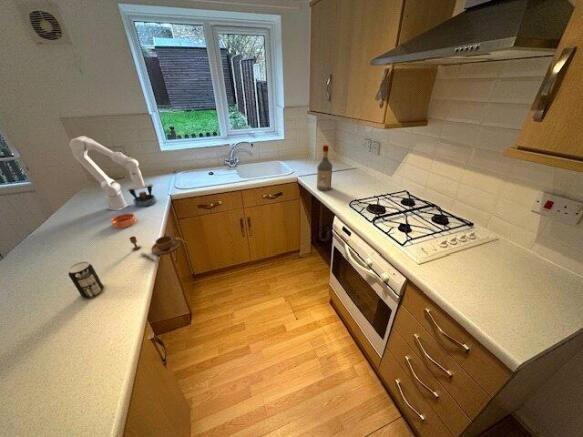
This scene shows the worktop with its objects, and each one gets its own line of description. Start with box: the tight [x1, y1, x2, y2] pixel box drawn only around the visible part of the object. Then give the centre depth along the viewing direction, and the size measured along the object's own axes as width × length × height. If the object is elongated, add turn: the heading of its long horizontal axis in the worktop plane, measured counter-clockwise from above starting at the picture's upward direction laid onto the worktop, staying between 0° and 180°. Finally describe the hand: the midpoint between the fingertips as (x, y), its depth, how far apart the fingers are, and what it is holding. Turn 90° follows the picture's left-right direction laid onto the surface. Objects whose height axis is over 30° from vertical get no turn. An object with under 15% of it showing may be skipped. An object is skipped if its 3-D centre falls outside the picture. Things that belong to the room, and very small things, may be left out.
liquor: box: [316, 144, 333, 192], centre depth 163 cm, size 9×9×30 cm
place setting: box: [129, 235, 188, 262], centre depth 111 cm, size 18×20×6 cm
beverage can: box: [67, 261, 104, 299], centre depth 85 cm, size 7×7×12 cm
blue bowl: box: [133, 193, 157, 208], centre depth 155 cm, size 12×12×4 cm
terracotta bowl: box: [110, 212, 138, 230], centre depth 131 cm, size 11×11×4 cm
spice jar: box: [138, 190, 148, 202], centre depth 154 cm, size 4×4×8 cm
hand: (144, 199), depth 154 cm, fingers open, 7 cm apart
